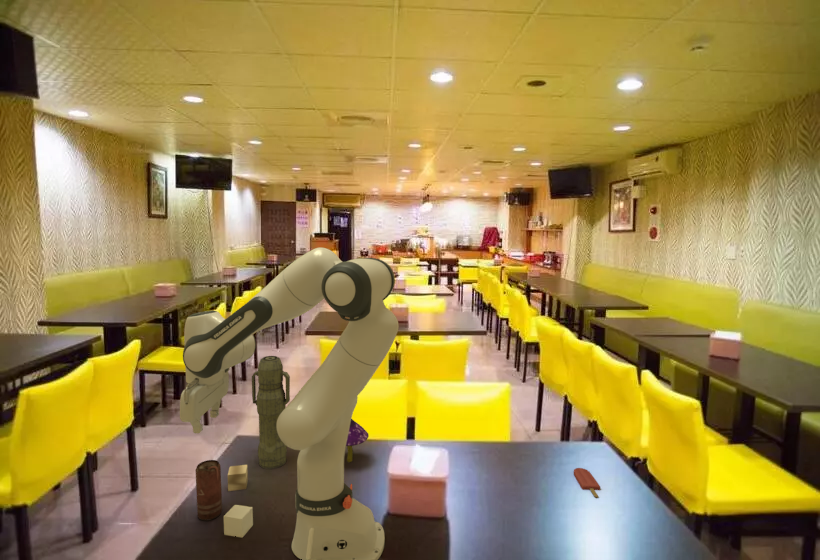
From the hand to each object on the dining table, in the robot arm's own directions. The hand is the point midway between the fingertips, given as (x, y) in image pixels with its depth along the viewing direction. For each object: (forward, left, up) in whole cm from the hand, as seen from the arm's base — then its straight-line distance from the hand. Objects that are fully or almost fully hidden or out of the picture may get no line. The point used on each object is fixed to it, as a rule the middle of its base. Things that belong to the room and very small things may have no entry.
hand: (206, 424), depth 121 cm
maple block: (-2, -14, -25) cm, 29 cm away
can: (0, 0, -25) cm, 25 cm away
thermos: (-8, -28, -25) cm, 39 cm away
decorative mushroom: (-33, -29, -25) cm, 51 cm away
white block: (-10, +6, -25) cm, 28 cm away
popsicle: (-107, -19, -26) cm, 112 cm away
